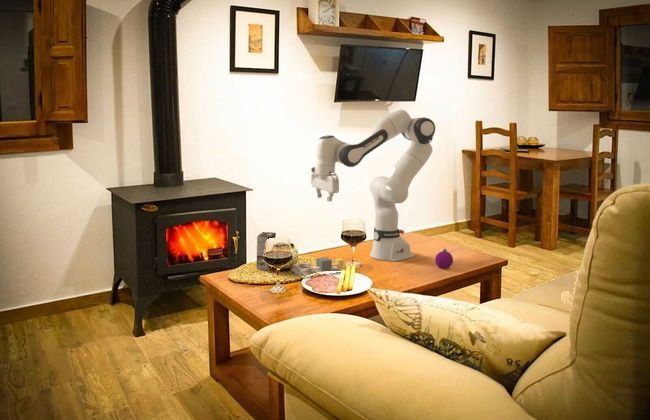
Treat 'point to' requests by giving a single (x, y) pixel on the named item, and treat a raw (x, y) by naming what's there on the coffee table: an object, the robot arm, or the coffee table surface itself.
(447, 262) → the christmas ornament
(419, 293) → the coffee table surface
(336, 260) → the cord block
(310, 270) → the lane shelf
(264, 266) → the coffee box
